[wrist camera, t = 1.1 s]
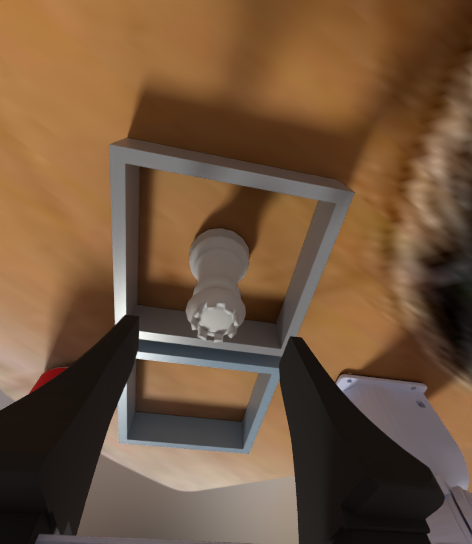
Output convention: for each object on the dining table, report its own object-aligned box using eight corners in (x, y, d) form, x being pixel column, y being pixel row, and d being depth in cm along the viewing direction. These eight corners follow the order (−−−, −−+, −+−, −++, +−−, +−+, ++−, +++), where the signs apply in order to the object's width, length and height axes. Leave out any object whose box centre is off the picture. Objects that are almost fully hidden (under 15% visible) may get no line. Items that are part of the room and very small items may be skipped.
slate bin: (278, 342, 26) (283, 368, 24) (247, 426, 33) (249, 453, 31) (127, 323, 25) (115, 349, 22) (127, 415, 32) (118, 443, 29)
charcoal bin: (337, 179, 19) (354, 192, 16) (282, 331, 26) (288, 357, 23) (127, 137, 17) (109, 144, 15) (127, 310, 24) (115, 336, 22)
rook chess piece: (189, 276, 23) (172, 353, 16) (190, 223, 20) (170, 286, 13) (245, 280, 23) (252, 357, 16) (252, 228, 21) (264, 292, 14)
